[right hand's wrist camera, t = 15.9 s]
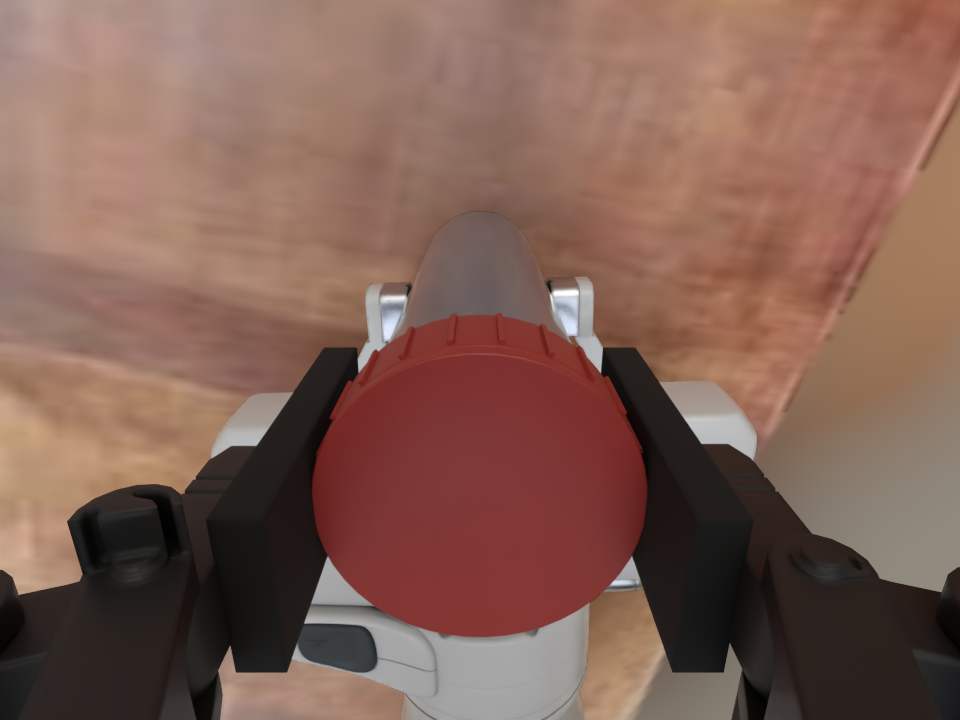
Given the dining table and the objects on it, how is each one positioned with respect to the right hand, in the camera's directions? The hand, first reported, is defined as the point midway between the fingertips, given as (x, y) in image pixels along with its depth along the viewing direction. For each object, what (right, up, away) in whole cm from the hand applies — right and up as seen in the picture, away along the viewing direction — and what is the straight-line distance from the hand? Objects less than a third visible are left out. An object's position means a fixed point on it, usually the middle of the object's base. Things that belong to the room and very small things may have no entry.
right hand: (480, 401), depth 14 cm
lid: (0, -1, -4) cm, 4 cm away
